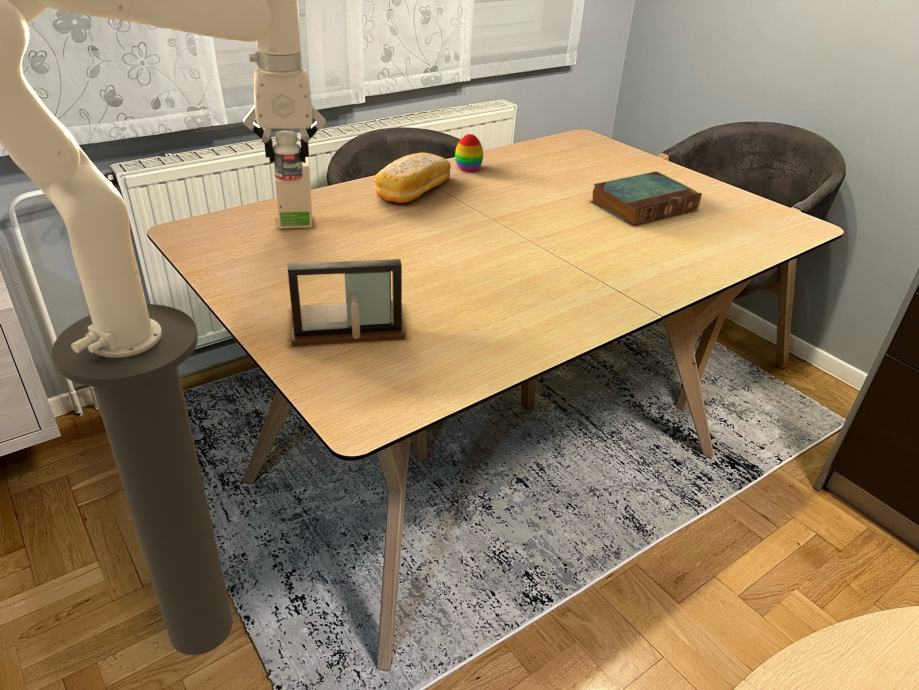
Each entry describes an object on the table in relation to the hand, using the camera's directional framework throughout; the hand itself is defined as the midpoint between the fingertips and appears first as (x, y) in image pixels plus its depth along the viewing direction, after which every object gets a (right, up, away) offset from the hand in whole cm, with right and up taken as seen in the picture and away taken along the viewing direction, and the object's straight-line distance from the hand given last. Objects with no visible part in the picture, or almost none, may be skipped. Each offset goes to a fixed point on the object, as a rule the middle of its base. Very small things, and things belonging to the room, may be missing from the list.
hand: (287, 159), depth 139 cm
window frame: (+11, -31, +2) cm, 33 cm away
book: (+82, +2, +56) cm, 100 cm away
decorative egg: (+35, +16, +74) cm, 83 cm away
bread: (+20, +7, +59) cm, 63 cm away
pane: (+16, -33, -5) cm, 37 cm away
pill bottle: (0, -3, +2) cm, 4 cm away
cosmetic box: (-7, -6, +39) cm, 40 cm away
